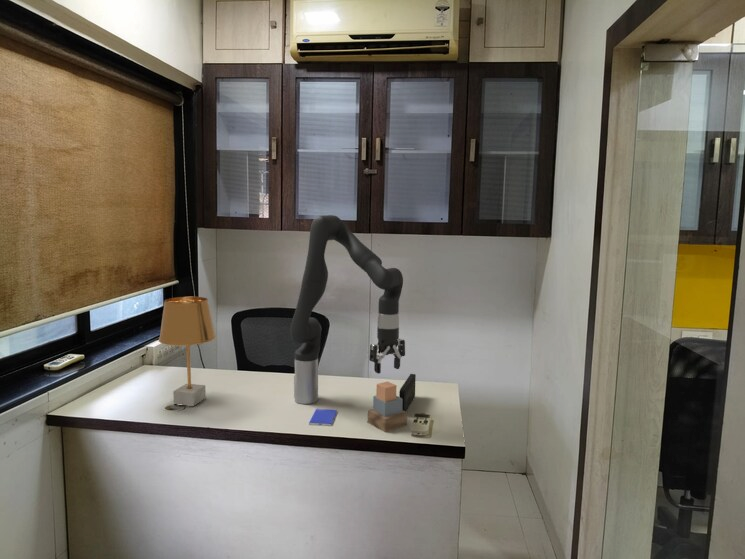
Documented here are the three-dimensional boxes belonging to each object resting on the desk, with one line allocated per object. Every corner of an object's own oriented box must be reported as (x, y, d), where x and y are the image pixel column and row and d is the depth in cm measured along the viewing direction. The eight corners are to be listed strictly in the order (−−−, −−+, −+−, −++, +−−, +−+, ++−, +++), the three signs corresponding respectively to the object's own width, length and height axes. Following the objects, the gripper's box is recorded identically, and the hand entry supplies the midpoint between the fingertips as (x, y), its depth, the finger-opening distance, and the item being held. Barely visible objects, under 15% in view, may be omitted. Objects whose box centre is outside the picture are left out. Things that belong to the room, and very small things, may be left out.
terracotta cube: (376, 397, 183) (376, 384, 182) (387, 394, 186) (387, 381, 185) (385, 401, 179) (385, 388, 178) (396, 398, 182) (396, 385, 181)
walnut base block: (367, 423, 185) (367, 410, 185) (388, 416, 191) (388, 403, 191) (385, 433, 177) (385, 419, 177) (406, 425, 184) (407, 412, 183)
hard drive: (315, 408, 195) (308, 422, 182) (337, 409, 194) (331, 423, 182) (315, 412, 195) (308, 426, 183) (337, 413, 194) (331, 427, 182)
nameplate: (403, 416, 191) (404, 390, 190) (398, 415, 192) (399, 390, 191) (415, 397, 211) (415, 373, 210) (410, 396, 212) (411, 373, 211)
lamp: (181, 390, 215) (177, 294, 209) (227, 394, 210) (224, 296, 205) (149, 409, 194) (144, 303, 189) (200, 414, 190) (196, 306, 185)
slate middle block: (373, 409, 185) (373, 396, 184) (390, 405, 189) (390, 392, 188) (384, 416, 179) (385, 402, 178) (402, 412, 183) (402, 398, 182)
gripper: (396, 321, 186) (395, 364, 188) (365, 326, 177) (364, 371, 180) (410, 325, 180) (409, 369, 182) (378, 330, 171) (378, 377, 174)
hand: (387, 370), depth 181 cm, fingers open, 8 cm apart
